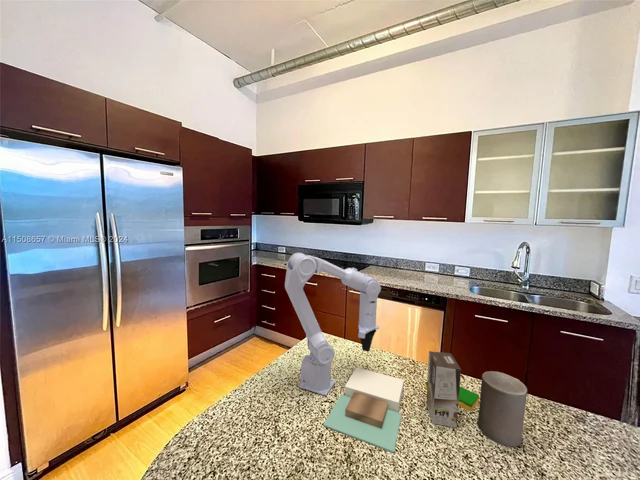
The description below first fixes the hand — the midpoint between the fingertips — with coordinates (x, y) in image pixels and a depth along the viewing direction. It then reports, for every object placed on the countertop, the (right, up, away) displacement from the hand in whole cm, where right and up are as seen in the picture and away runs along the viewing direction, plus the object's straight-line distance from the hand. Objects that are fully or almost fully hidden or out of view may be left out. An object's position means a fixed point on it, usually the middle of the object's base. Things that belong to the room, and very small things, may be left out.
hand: (366, 350), depth 91 cm
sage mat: (-4, -11, -20) cm, 23 cm away
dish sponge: (+26, -11, -8) cm, 29 cm away
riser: (+1, -10, -8) cm, 13 cm away
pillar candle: (+31, -12, -22) cm, 40 cm away
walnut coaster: (-3, -10, -17) cm, 20 cm away
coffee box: (+18, -11, -17) cm, 27 cm away
